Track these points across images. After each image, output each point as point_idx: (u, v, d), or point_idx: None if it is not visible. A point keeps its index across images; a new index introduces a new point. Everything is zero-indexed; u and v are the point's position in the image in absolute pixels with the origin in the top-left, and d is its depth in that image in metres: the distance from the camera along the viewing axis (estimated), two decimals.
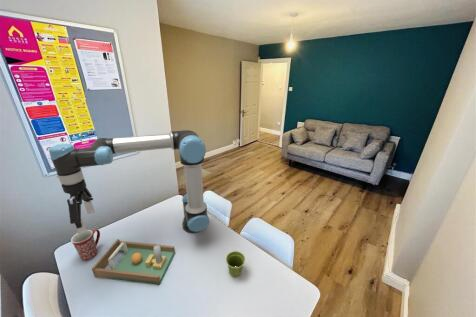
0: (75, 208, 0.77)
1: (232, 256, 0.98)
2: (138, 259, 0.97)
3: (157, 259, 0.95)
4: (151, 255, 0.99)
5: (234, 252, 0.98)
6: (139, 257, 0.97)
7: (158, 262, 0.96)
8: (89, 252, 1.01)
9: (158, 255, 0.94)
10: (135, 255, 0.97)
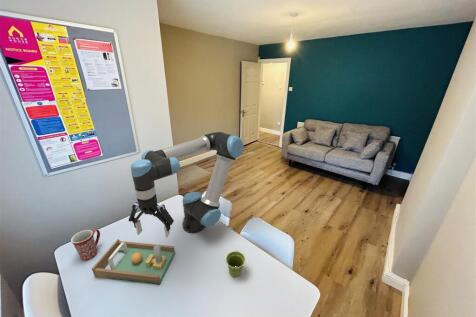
0: None
1: (232, 256, 0.98)
2: (138, 259, 0.97)
3: (157, 259, 0.95)
4: (151, 255, 0.99)
5: (234, 252, 0.98)
6: (139, 257, 0.97)
7: (158, 262, 0.96)
8: (89, 252, 1.01)
9: (158, 255, 0.94)
10: (135, 255, 0.97)
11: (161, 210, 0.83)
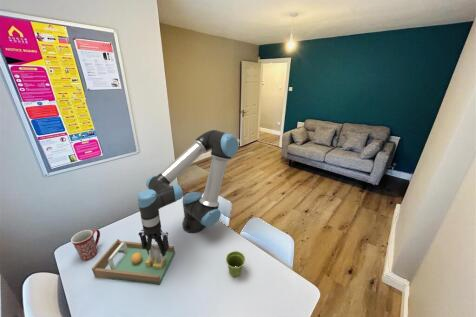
0: None
1: (232, 256, 0.98)
2: (138, 259, 0.97)
3: (157, 259, 0.95)
4: None
5: (234, 252, 0.98)
6: (139, 257, 0.97)
7: (158, 262, 0.96)
8: (89, 252, 1.01)
9: (158, 255, 0.94)
10: (135, 255, 0.97)
11: (164, 238, 0.89)
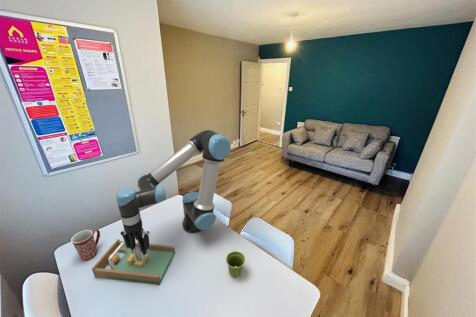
0: None
1: (232, 256, 0.98)
2: (115, 262, 0.99)
3: (139, 257, 0.96)
4: None
5: (234, 252, 0.98)
6: None
7: (140, 260, 0.96)
8: (89, 252, 1.01)
9: (139, 253, 0.95)
10: (116, 258, 0.99)
11: (145, 237, 0.90)
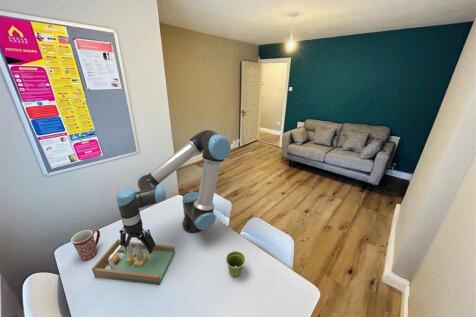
0: None
1: (232, 256, 0.98)
2: (115, 262, 0.99)
3: (138, 257, 0.96)
4: (133, 253, 1.00)
5: (234, 252, 0.98)
6: None
7: (139, 260, 0.97)
8: (89, 252, 1.01)
9: (139, 253, 0.95)
10: (116, 258, 0.99)
11: (146, 235, 0.90)
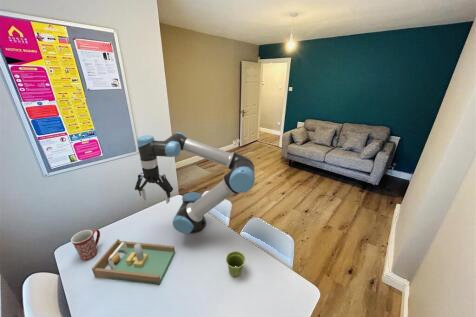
0: None
1: (232, 256, 0.98)
2: (115, 262, 0.99)
3: (138, 257, 0.96)
4: (133, 253, 1.00)
5: (234, 252, 0.98)
6: (117, 261, 1.00)
7: (139, 260, 0.97)
8: (89, 252, 1.01)
9: (139, 253, 0.95)
10: (117, 258, 0.99)
11: (162, 179, 0.99)
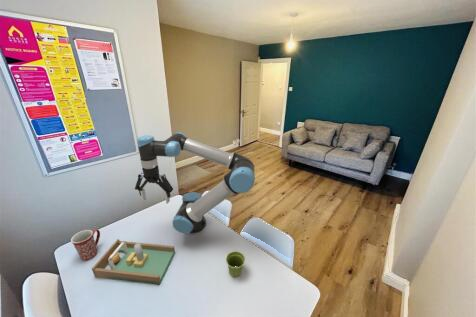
0: None
1: (232, 256, 0.98)
2: None
3: (138, 257, 0.96)
4: (133, 253, 1.00)
5: (234, 252, 0.98)
6: (117, 261, 1.00)
7: (139, 260, 0.97)
8: (89, 252, 1.01)
9: (139, 253, 0.95)
10: (117, 258, 0.99)
11: (162, 178, 0.99)
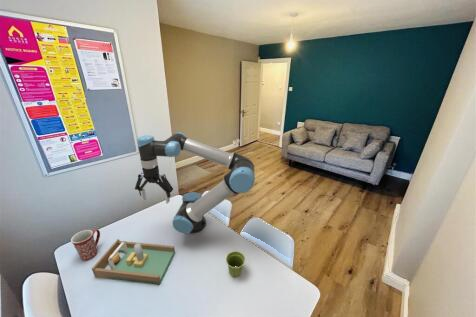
0: None
1: (232, 256, 0.98)
2: None
3: (138, 257, 0.96)
4: (133, 253, 1.00)
5: (234, 252, 0.98)
6: (117, 261, 1.00)
7: (139, 260, 0.97)
8: (89, 252, 1.01)
9: (139, 253, 0.95)
10: (117, 259, 0.99)
11: (162, 178, 0.99)
